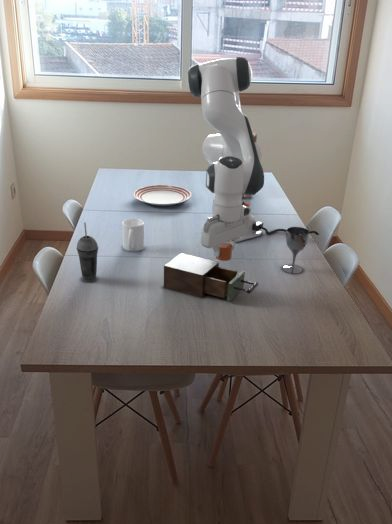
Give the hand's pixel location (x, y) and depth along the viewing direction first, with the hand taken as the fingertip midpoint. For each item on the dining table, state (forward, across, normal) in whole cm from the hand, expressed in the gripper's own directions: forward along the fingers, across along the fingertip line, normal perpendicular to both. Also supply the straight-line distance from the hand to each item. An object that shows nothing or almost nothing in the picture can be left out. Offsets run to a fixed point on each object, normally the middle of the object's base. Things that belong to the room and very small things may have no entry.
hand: (223, 253), depth 188 cm
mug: (+15, +4, +48) cm, 50 cm away
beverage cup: (+15, -25, +39) cm, 48 cm away
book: (+14, +95, +67) cm, 117 cm away
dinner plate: (+15, +55, +82) cm, 100 cm away
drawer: (+14, +1, -2) cm, 14 cm away
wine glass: (+15, +35, -6) cm, 38 cm away
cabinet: (+15, -3, +11) cm, 19 cm away
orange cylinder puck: (+2, 0, 0) cm, 2 cm away
